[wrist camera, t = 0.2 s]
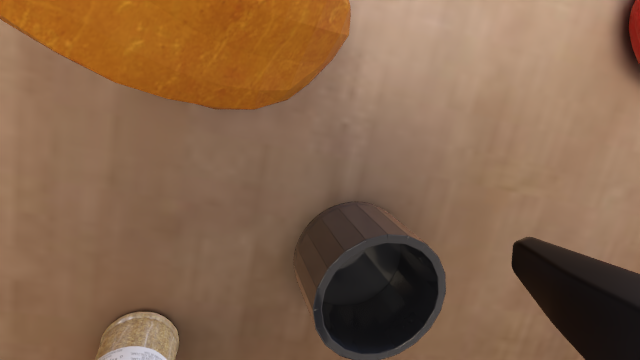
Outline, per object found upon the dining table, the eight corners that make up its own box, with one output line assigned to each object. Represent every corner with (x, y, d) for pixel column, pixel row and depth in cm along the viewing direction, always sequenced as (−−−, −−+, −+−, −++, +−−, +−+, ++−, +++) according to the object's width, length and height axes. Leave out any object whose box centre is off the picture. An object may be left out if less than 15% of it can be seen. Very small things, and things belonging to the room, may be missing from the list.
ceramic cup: (368, 319, 28) (402, 374, 23) (273, 286, 26) (288, 341, 21) (422, 227, 27) (469, 263, 22) (328, 183, 25) (358, 212, 20)
